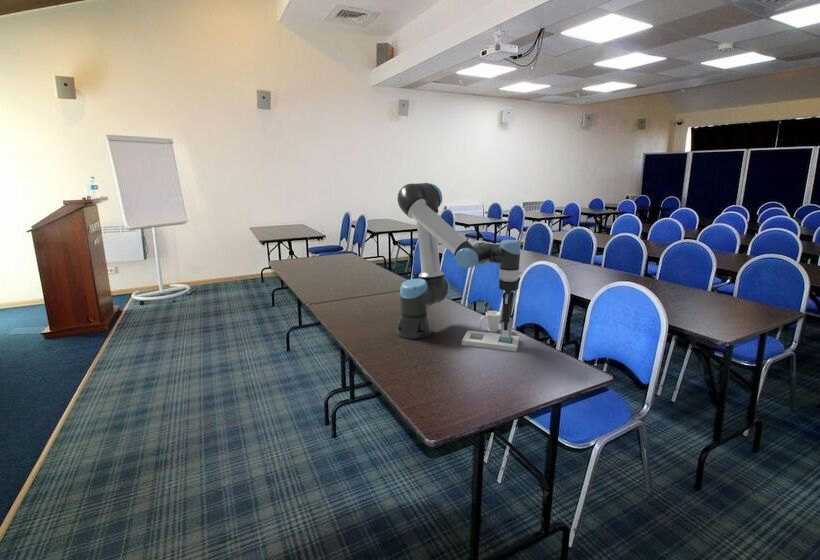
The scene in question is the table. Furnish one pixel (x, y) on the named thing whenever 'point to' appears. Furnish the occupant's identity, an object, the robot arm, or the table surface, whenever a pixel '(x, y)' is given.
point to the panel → (489, 341)
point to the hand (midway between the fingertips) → (506, 334)
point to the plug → (506, 339)
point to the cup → (491, 320)
